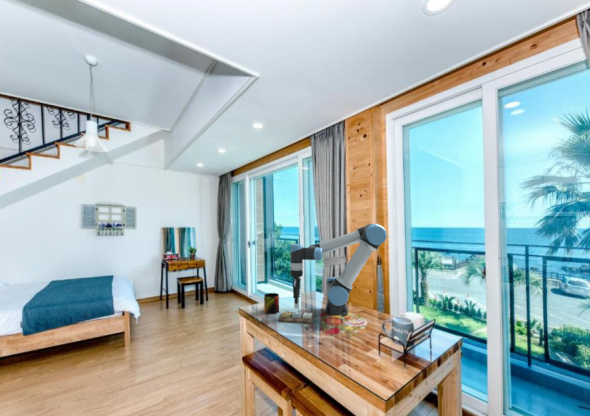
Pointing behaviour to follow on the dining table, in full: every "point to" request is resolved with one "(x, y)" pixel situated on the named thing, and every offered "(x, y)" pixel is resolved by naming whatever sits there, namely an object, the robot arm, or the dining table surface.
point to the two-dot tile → (297, 314)
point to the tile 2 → (307, 315)
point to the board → (296, 319)
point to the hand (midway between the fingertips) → (296, 308)
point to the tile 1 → (286, 314)
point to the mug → (271, 303)
